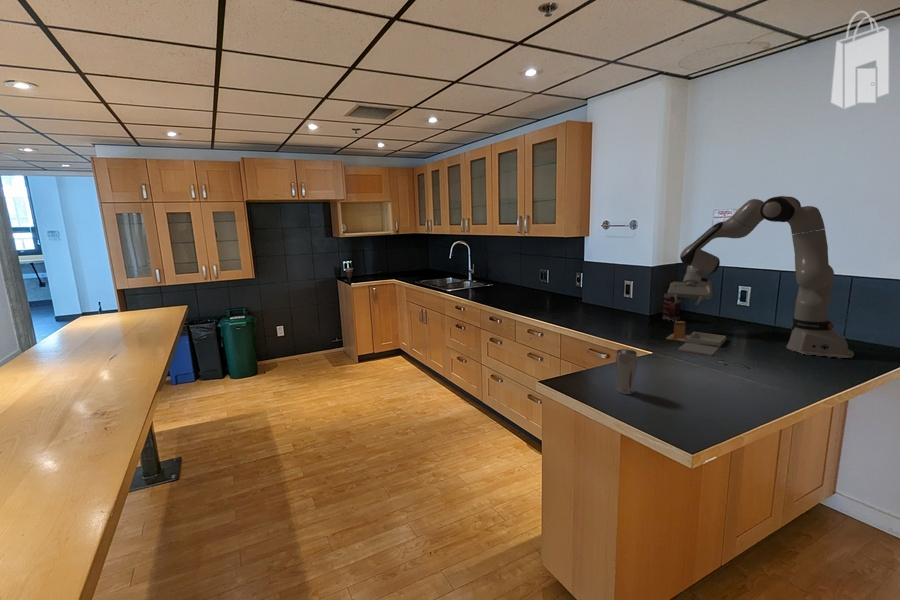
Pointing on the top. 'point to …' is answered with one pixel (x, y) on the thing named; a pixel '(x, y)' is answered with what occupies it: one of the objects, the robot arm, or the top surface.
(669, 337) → the pad
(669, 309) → the supplement box
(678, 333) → the block
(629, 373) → the beer glass
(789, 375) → the top surface
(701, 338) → the case
